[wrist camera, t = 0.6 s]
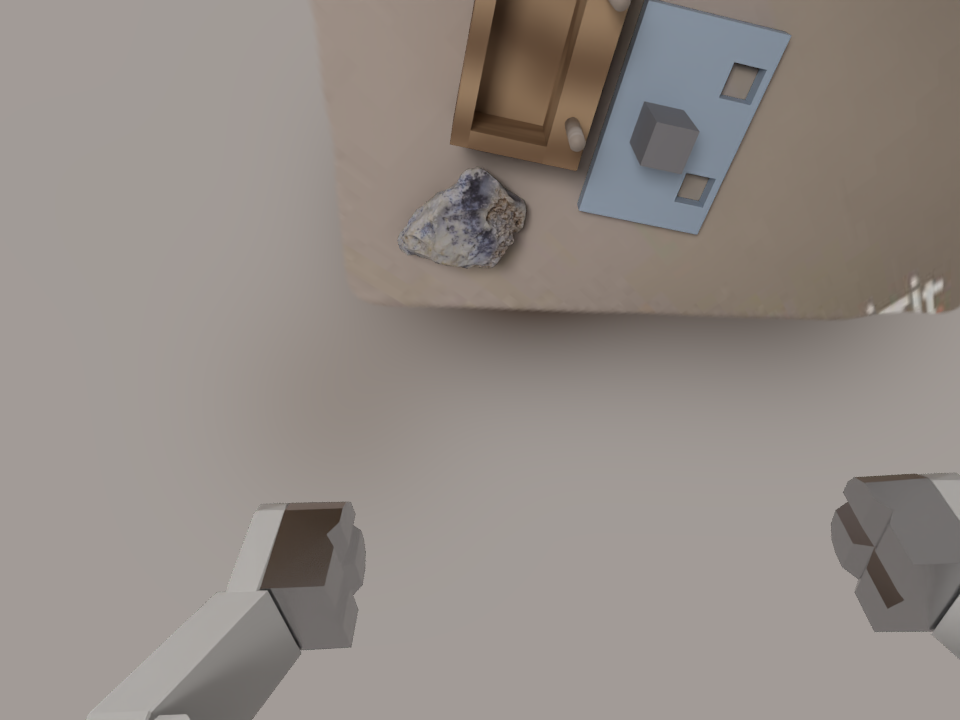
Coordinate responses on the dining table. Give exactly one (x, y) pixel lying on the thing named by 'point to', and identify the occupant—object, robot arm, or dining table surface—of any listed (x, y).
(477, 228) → the mineral specimen
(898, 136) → the dining table surface
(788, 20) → the dining table surface
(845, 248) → the dining table surface
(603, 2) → the wooden box with pegs
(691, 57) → the grey peg base plate
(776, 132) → the dining table surface
